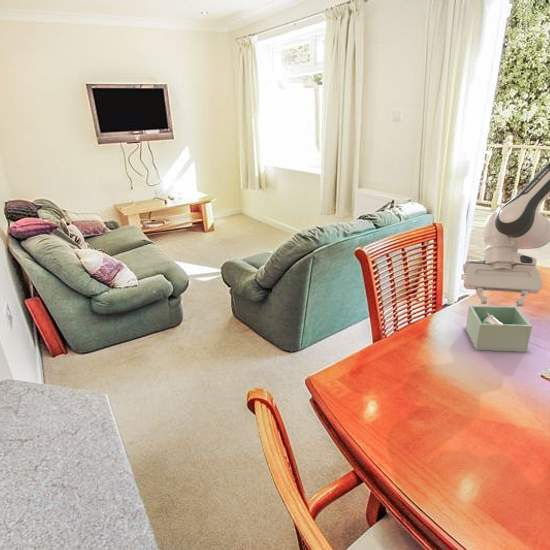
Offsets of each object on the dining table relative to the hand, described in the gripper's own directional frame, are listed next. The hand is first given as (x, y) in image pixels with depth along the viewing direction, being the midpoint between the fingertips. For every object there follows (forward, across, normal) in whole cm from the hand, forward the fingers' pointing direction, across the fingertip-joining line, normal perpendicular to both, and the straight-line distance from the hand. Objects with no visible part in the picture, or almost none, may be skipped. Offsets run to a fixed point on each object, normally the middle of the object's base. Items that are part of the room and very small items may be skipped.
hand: (501, 304), depth 110 cm
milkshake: (+8, +4, +6) cm, 11 cm away
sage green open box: (+9, 0, +9) cm, 13 cm away
